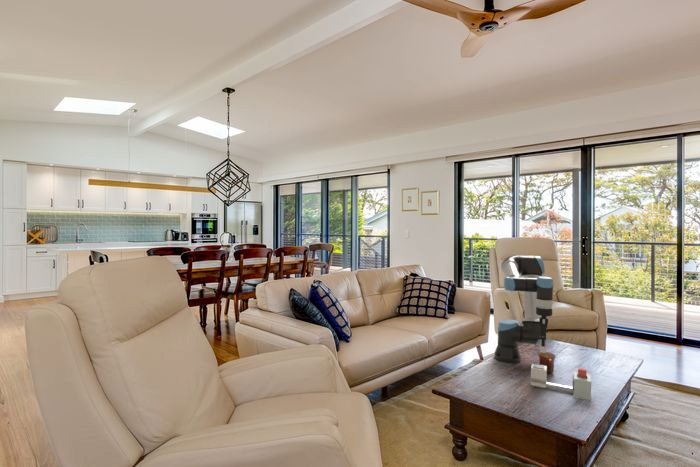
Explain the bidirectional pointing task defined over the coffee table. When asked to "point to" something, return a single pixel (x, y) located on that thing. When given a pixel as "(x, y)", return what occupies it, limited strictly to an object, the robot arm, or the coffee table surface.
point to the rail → (558, 387)
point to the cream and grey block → (538, 375)
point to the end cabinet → (582, 386)
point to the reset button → (582, 372)
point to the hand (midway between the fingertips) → (543, 348)
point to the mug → (547, 361)
